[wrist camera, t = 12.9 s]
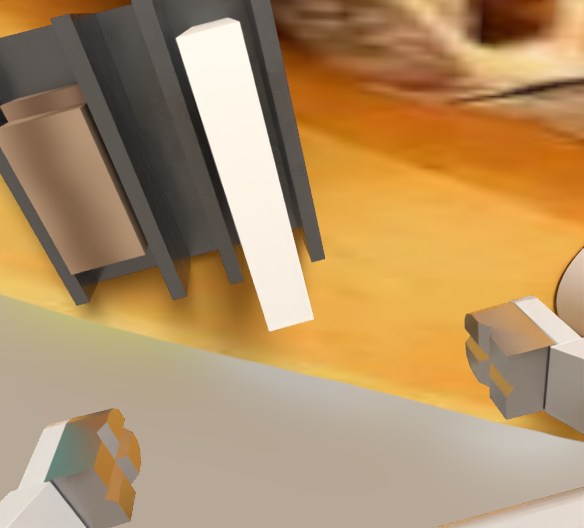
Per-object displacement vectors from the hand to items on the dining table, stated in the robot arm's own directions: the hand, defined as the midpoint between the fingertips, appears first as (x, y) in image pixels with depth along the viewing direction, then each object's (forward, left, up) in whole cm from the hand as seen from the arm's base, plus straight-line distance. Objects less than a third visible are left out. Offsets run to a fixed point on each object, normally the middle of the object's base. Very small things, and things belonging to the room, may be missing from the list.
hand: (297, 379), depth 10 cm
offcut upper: (+11, 0, -24) cm, 26 cm away
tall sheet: (0, 0, -26) cm, 26 cm away
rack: (+6, 0, -27) cm, 28 cm away
